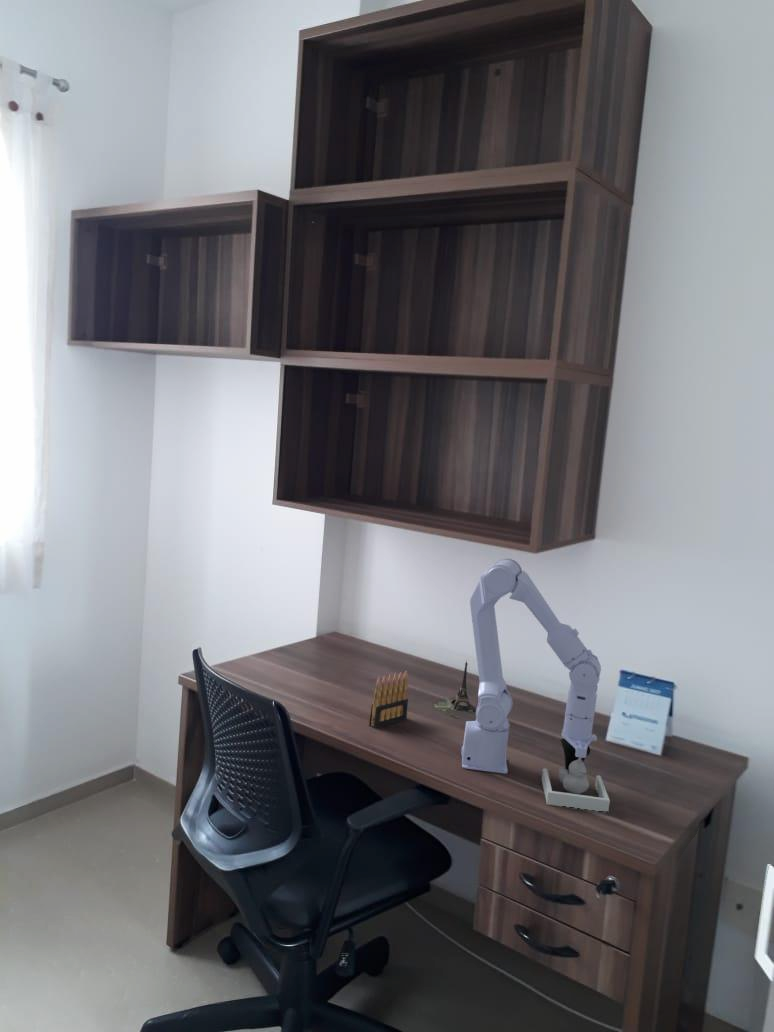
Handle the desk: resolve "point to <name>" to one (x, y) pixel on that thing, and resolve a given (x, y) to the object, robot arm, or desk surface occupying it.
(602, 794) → the bay
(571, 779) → the rubber duck
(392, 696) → the ammunition clip
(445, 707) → the eiffel tower figurine
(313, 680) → the desk surface
